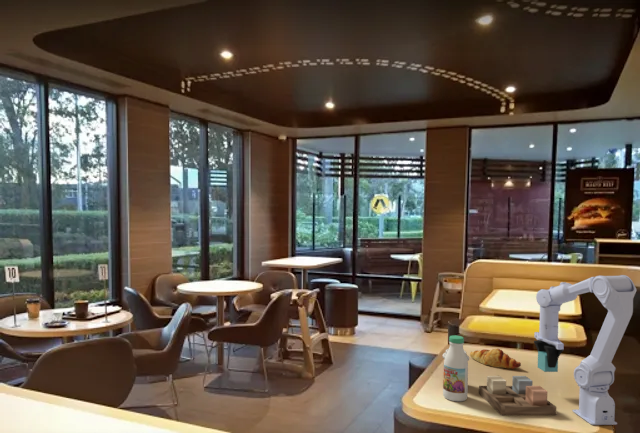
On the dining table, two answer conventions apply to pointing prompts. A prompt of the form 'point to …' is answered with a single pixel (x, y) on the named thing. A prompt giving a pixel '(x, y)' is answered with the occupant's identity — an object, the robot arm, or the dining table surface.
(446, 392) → the milk bottle
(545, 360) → the teal block
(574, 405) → the dining table surface
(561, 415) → the dining table surface
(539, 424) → the dining table surface
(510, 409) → the puzzle board
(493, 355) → the croissant
